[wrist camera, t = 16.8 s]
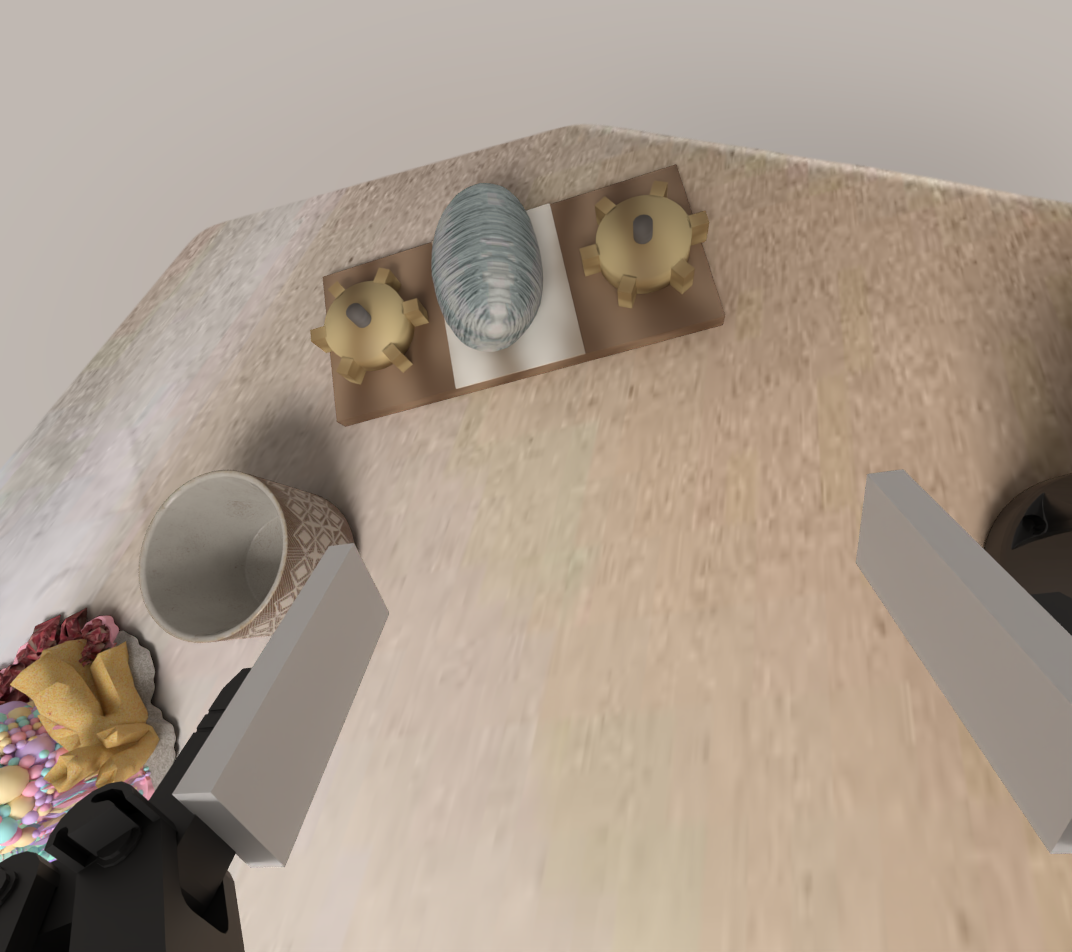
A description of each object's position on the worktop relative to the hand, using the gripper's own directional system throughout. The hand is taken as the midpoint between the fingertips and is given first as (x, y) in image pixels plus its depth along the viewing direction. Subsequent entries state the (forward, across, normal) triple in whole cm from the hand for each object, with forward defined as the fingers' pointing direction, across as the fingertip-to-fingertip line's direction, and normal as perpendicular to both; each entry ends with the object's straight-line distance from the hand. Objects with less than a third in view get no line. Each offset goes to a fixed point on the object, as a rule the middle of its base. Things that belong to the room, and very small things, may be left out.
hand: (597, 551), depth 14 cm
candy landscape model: (+14, -54, -28) cm, 63 cm away
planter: (+25, -30, -18) cm, 42 cm away
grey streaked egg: (+39, -8, -1) cm, 40 cm away
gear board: (+40, -8, -2) cm, 41 cm away
